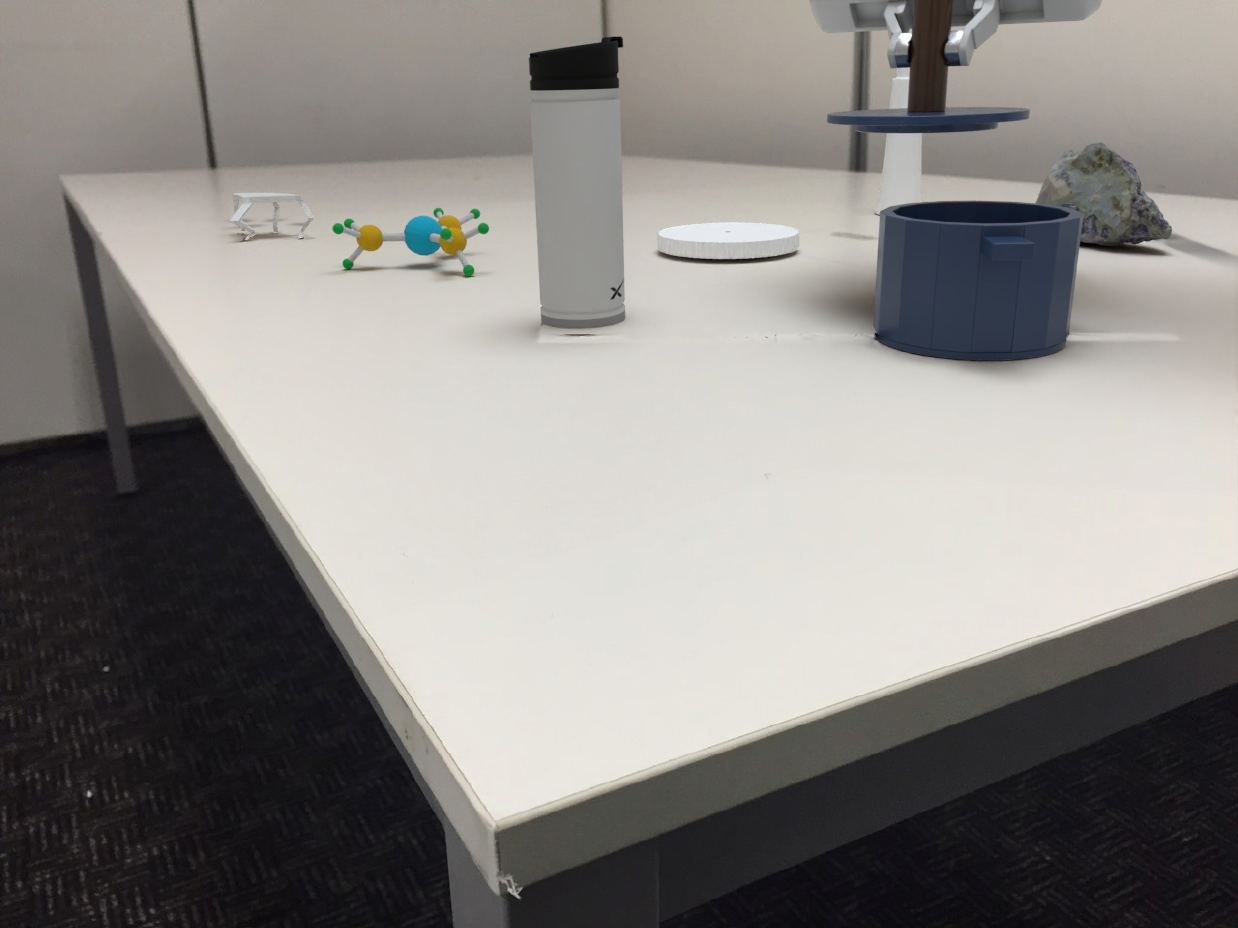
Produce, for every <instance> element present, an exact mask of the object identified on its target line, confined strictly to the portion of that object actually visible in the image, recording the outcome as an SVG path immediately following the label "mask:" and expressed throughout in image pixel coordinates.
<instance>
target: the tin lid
mask: <svg viewBox="0 0 1238 928" xmlns="http://www.w3.org/2000/svg"><path fill="white" fill-rule="evenodd" d="M952 6H953V0H914V4H913V21H912V39H911V56H910V73H909V91H908V108H900V109H889V108H879V109H877V108H876V109H860V110H859V109H858V110H845V111H835V112H830V113H827V115H826V122H827V124H831V125H839V126H854V131H855V132H859V133H870V134H887V133H922V134H945V133H947V134H948V133H968V132H981V131H982V132H983V131H990V130H991V131H992V130H996V129H998V127H999V123H1009V122H1019V121H1025V120H1028V119H1030V114H1031V113H1030V112H1031V110H1030V109H1029V108H1025V107H1007V106H1005V107H1004V106H1003V107H1002V106H954V107H953V106H948V107H947V92H948V78H949V66H947V65H946V61H947V59H946V58H945V45H946V43H947V42H948V35H949V33H950V31H952V27H951V21H952Z"/></svg>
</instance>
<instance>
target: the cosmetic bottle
mask: <svg viewBox="0 0 1238 928" xmlns="http://www.w3.org/2000/svg"><path fill="white" fill-rule="evenodd" d="M909 33H912V29H910V30H909ZM909 73H910V68H896V74H895V77H893V78H892V81H891V89H890V97H889V107H888V109H900V108H908V91H909ZM922 148H923V133H886V136H885V146H884V155H883V164H882V171H881V178H880V183H879V184H880V185H879V188H878V190H879V191H878V195H877V199H876V204H875V208H874V214H876V215H878V216H880V211H882V210H884V209H886V208H888V207H890V206H896V205H902V204H908V203H920V202H924V197H923V178H922V176H923V175H922V173H923V172H922V169H923V168H922V161H923V160H922V159H923V157H922V153H923V151H922V150H923V149H922Z"/></svg>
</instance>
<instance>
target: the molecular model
mask: <svg viewBox="0 0 1238 928" xmlns="http://www.w3.org/2000/svg"><path fill="white" fill-rule="evenodd" d="M433 215H434V217H435V218H436V219H438V220H436V219H435V218H433V217H431V216H429V215H418V216H414V217H412V219H410V220H409V221H408V222H407V223H406V225H405V227H404V230H403V232H388V233H387V232H382V230H381V229H380V228H379V227H377V226H376V225H375V224H365V225H362V226H359V225H358V224H357V223H355V220H354V219H352V218H346V219H345V220H344V221H343V224H342V223H339V222H336V223H334V224H333V225H332V232H333V233H334V234H336V235H342V234H345V235H348V236H351V237H354V238H356V243H357V244H358V247H357V248H356V249H355V250H354V251H353V252H352V254H351V255H350V256H349V257H348V258H344V259H343V260H342V263H341V264H342V267H343V268H344V269H345V270H351V269H353V268H354V262H355V261H356V259H358V258H359V256H360V255H361V253H363V252H364V251H366V252H375V251H377V250H379V249H380V248H381V247H382V246H383V243H384V242H404V243H405V244H406V246H407V248H408V249H409V250H410V251H411V252H412V253H414V254H415V255H418V256H425V257H426V256H431V255H434V254H435V253H437V251H439V250H440V249H441V250H442V252H444V253H445V254H447V255H450V256H457V258H458V260H459V262H460V264H461V265H462V267H463V268H462V272H463V274H464V275H465V276H467V277H471V276H473V275H474V273H475V267H474V266H473V265H471V264H470V263H469V261H468V259H467V258H466V255H465V254H464V250H465V249H466V247H467V244H468V239H470V238H472V237H475V236H476V235H479V234H480V235H486V234H488V233H489V231H490V226H489V225H488V223H486V222H480V223H479V224H478V225H477V227H474V228H472V229H470V230H468V231H466V232H464V231H463V230H462V225H464V224H466V223H468V222H470V221H471V220H473V219H474V220H477V219H479V218H480V217H481V211H480V209H478V208H472V209H470V212H469V213H468V214H467V215H465V216H463V217H461V218H459V219H458V218H457V217H456V216H454V215H451V214H446V215H445V212H444V210H443V209H442V208H441V207H436V208H435V209H433Z"/></svg>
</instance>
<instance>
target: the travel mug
mask: <svg viewBox="0 0 1238 928" xmlns="http://www.w3.org/2000/svg"><path fill="white" fill-rule="evenodd" d="M619 48H622V49H623V48H624V38H623V37H622V36H605V37H604V36H603V37H602V38H601V41H599V42H593V43H585V44H579V45H572V46H565V47H564V46H563V47H558V48H552V49H546V50H540V51H535V52H530V53H529V57H528V68H529V71H528V72H529V75H530V80H529V89H530V90H529V98H530V99H531V100H530V103H529V106H530V107H529V109H530V124H531V125H530V126H531V127H530V128H531V144H532V145H531V147H532V164H533V165H532V166H533V168H532V169H533V184H534V185H533V186H534V205H535V206H534V207H535V226H536V245H537V247H536V248H537V264H538V265H537V266H538V281H539V282H538V285H539V302H540V305H541V306H540V325H541V326H543V325H546V326H549V327H553V328H559V329H573V330H575V329H577V330H578V329H579V330H580V329H581V330H582V329H596V328H604V327H610V326H614V325H618V324H620V323H622V322H624V321H625V320H626V305H625V300H626V298H625V296H626V295H625V294H626V293H625V291H626V290H625V256H624V255H625V254H624V253H625V251H624V250H625V249H624V209H623V208H624V206H623V165H622V163H623V161H622V159H623V158H622V122H621V121H622V120H621V119H622V117H621V116H622V115H621V99H619V96H620V95H621V88H620V78H619V77H618V74H619V72H620V68H619V67H620V65H619ZM563 335H564V336H565V335H566V336H593V335H594V333H580V334H579V333H571V334H570V333H563Z"/></svg>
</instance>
